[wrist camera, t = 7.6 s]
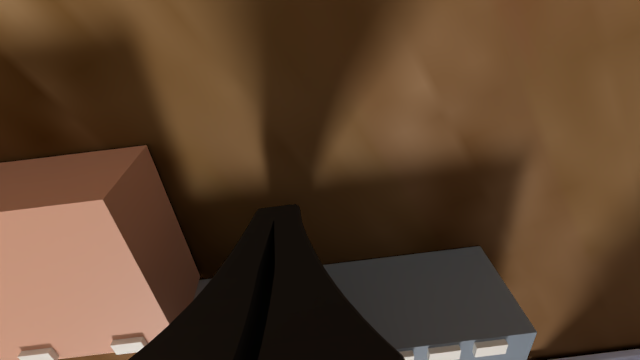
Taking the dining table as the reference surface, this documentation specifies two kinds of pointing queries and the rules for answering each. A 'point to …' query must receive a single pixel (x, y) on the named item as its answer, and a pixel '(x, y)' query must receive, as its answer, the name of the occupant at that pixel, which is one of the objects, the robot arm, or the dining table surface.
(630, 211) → the dining table surface
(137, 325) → the stub
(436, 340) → the grey tabbed panel
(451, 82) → the dining table surface
